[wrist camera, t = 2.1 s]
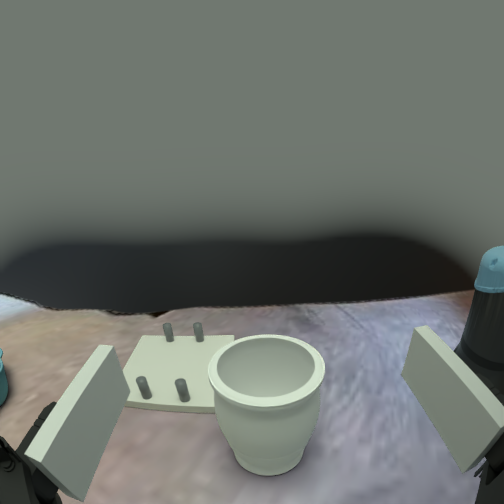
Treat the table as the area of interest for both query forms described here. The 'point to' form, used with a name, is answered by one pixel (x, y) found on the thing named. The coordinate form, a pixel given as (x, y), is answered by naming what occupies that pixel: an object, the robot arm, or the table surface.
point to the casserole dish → (2, 381)
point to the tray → (173, 371)
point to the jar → (267, 399)
